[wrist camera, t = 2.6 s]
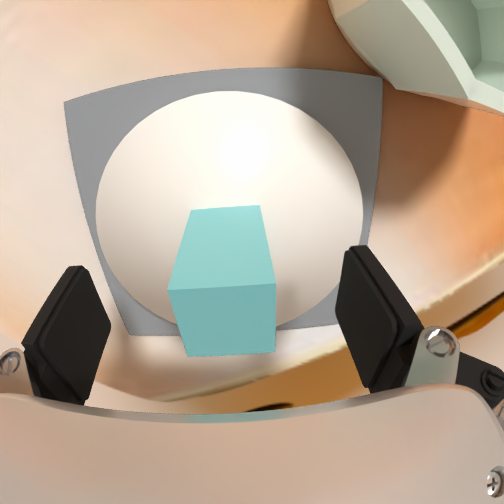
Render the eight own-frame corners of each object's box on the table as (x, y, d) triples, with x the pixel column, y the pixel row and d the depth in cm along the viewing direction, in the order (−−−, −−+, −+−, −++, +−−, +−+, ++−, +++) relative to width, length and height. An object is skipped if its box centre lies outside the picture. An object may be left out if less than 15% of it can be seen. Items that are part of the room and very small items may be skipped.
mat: (378, 77, 11) (382, 77, 10) (348, 316, 19) (350, 321, 18) (68, 101, 10) (63, 102, 10) (131, 329, 18) (129, 335, 18)
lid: (363, 93, 11) (458, 109, 5) (339, 312, 18) (371, 397, 12) (81, 117, 10) (-14, 151, 5) (138, 325, 17) (115, 411, 12)
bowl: (466, -25, 6) (531, -34, 1) (478, 112, 11) (553, 138, 6) (315, -79, 6) (354, -136, 1) (329, 81, 11) (397, 80, 6)
